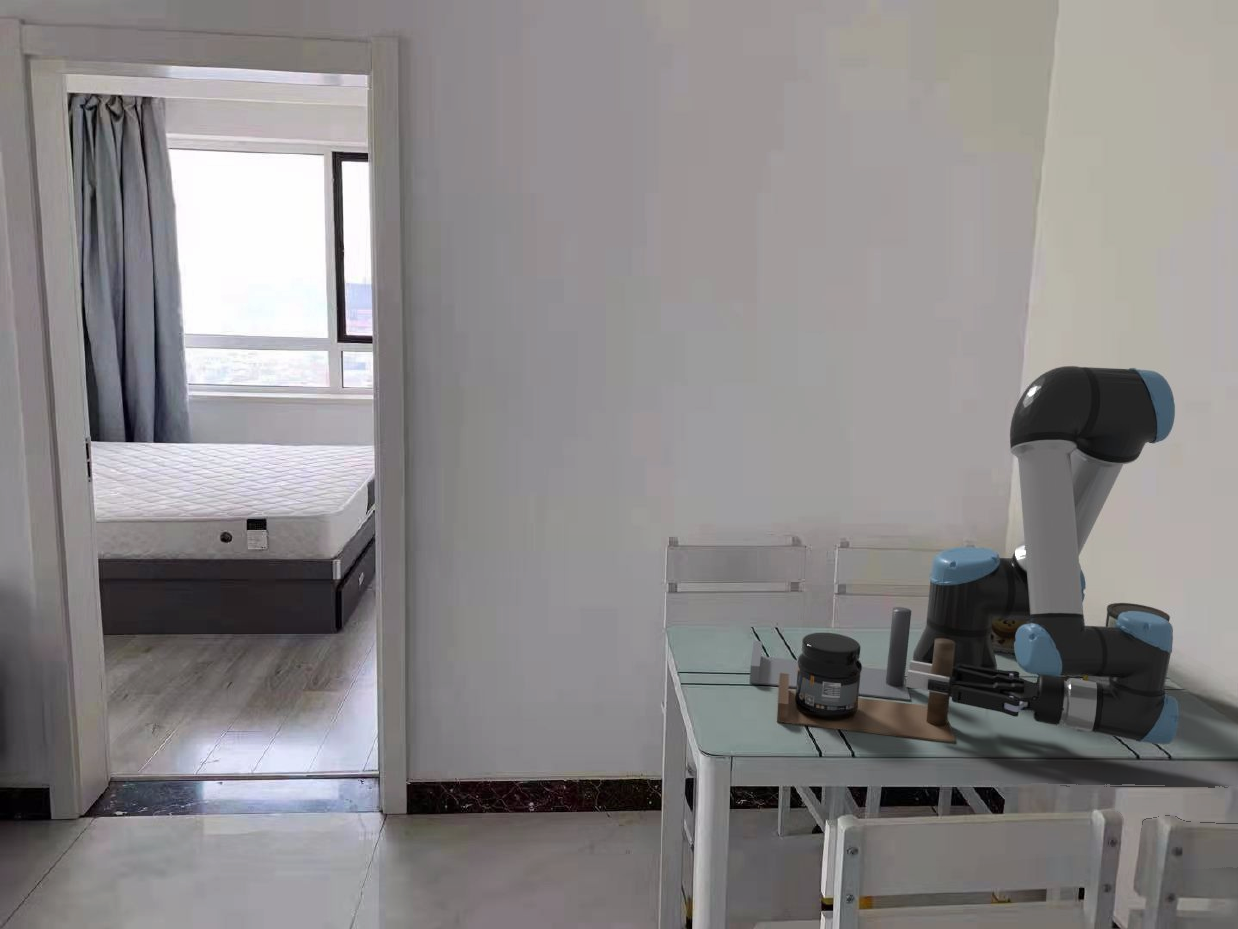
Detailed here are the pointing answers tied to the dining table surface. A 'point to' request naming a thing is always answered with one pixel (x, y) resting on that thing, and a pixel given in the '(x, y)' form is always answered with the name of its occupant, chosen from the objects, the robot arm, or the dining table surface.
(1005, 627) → the cookie box
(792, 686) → the grey l-shaped stand
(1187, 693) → the dining table surface
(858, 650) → the supplement container
